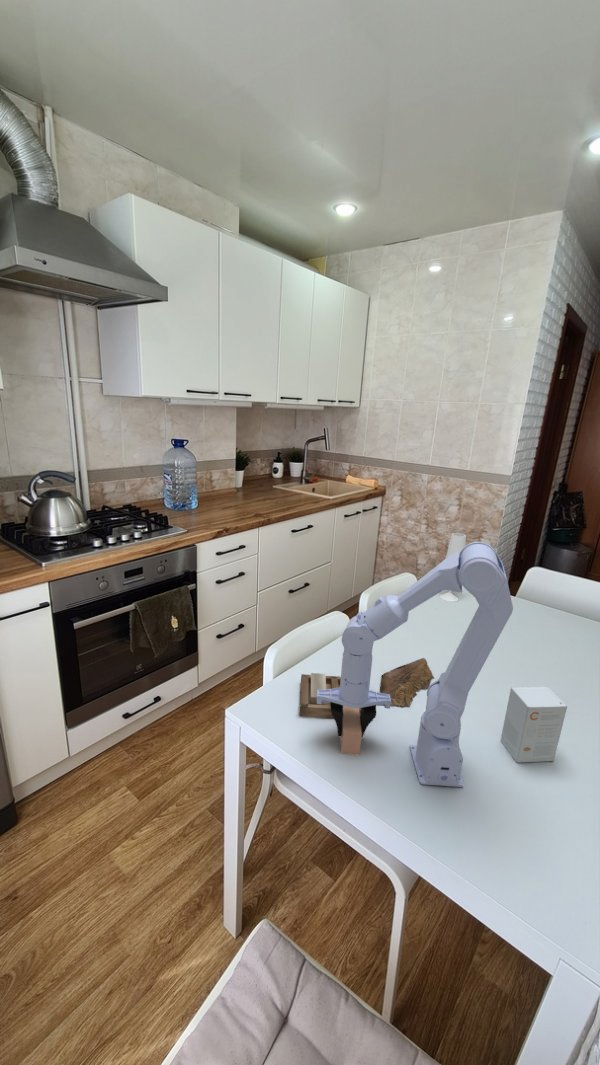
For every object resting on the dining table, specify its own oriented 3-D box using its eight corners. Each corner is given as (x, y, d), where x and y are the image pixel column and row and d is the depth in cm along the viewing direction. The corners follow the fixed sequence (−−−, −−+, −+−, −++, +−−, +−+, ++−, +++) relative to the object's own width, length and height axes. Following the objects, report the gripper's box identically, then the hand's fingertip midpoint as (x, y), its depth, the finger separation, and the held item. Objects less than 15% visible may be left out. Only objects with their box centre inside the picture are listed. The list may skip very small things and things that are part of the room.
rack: (366, 687, 109) (367, 672, 108) (372, 721, 97) (374, 705, 96) (300, 683, 109) (301, 668, 108) (299, 716, 98) (300, 700, 96)
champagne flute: (456, 594, 166) (466, 532, 159) (460, 602, 159) (470, 538, 153) (438, 593, 167) (447, 531, 160) (441, 600, 160) (450, 536, 153)
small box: (535, 738, 95) (547, 685, 91) (554, 762, 89) (568, 706, 85) (498, 739, 94) (510, 686, 90) (515, 763, 88) (528, 707, 84)
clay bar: (359, 755, 88) (361, 733, 86) (341, 753, 88) (343, 732, 86) (356, 726, 95) (358, 706, 94) (339, 725, 96) (341, 705, 94)
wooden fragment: (401, 716, 100) (401, 712, 99) (359, 695, 106) (359, 691, 106) (447, 669, 119) (448, 666, 118) (410, 654, 125) (410, 650, 125)
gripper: (389, 666, 91) (382, 722, 95) (318, 662, 91) (314, 718, 95) (395, 687, 84) (387, 746, 88) (318, 682, 85) (314, 742, 88)
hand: (350, 733), depth 91 cm, fingers closed on clay bar, 4 cm apart
